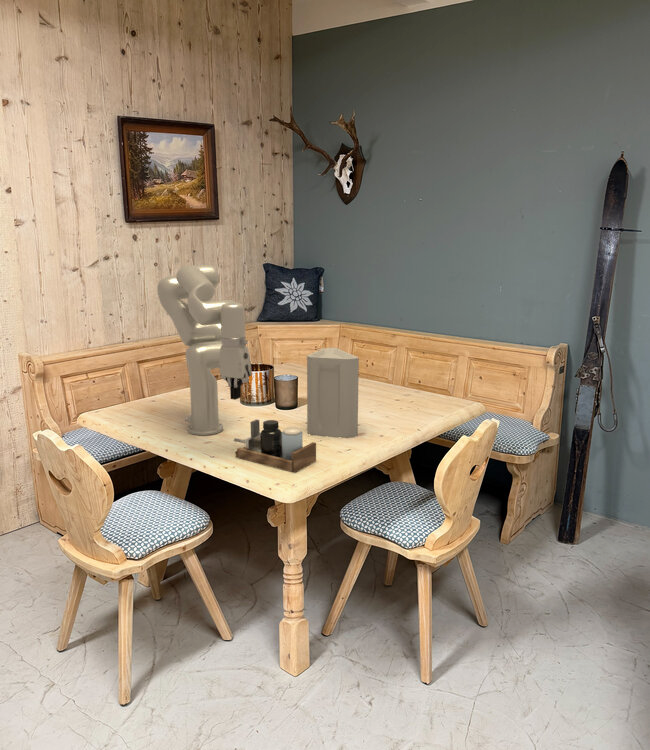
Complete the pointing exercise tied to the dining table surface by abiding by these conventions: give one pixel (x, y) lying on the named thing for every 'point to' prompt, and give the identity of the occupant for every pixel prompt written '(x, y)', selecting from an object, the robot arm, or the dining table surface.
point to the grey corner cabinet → (332, 393)
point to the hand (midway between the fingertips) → (235, 398)
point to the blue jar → (291, 441)
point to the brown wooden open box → (298, 462)
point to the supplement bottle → (271, 439)
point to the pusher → (253, 438)
